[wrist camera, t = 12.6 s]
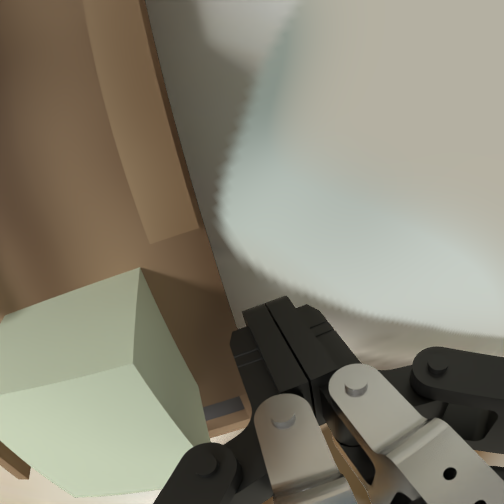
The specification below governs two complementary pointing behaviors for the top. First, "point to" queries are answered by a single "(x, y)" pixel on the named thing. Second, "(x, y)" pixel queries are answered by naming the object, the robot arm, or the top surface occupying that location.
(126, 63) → the board
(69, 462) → the block
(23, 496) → the top surface
